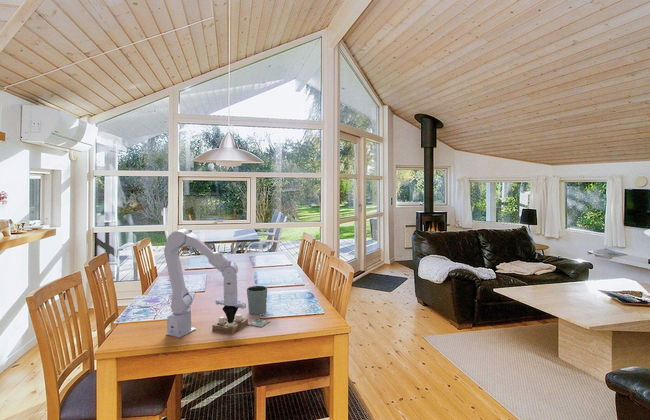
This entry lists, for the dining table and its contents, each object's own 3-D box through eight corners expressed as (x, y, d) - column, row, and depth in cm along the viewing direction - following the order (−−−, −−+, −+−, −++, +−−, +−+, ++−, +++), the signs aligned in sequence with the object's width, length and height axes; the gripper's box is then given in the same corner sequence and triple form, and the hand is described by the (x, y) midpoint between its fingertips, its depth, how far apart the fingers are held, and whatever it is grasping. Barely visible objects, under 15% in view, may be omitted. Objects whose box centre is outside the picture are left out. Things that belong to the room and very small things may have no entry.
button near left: (222, 325, 155) (222, 319, 155) (217, 324, 156) (217, 318, 156) (226, 323, 158) (226, 317, 158) (221, 322, 159) (221, 316, 159)
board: (231, 334, 152) (231, 328, 151) (212, 330, 155) (212, 325, 155) (247, 324, 163) (247, 319, 162) (229, 320, 166) (229, 315, 166)
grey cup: (263, 316, 172) (262, 292, 171) (243, 314, 174) (243, 290, 173) (270, 309, 182) (270, 286, 181) (251, 307, 184) (251, 284, 183)
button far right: (239, 323, 159) (239, 316, 158) (234, 322, 160) (234, 315, 160) (243, 320, 161) (243, 314, 161) (238, 319, 162) (238, 313, 162)
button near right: (231, 330, 154) (231, 323, 153) (226, 329, 155) (226, 322, 154) (235, 328, 156) (235, 321, 156) (230, 327, 157) (230, 320, 157)
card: (261, 327, 159) (261, 326, 159) (248, 324, 162) (248, 323, 162) (269, 321, 166) (269, 320, 166) (256, 319, 168) (256, 318, 168)
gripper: (250, 291, 155) (250, 321, 156) (222, 287, 161) (223, 316, 162) (240, 295, 149) (240, 327, 150) (212, 291, 154) (212, 322, 155)
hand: (230, 322), depth 155 cm, fingers closed, pressing on button near right
